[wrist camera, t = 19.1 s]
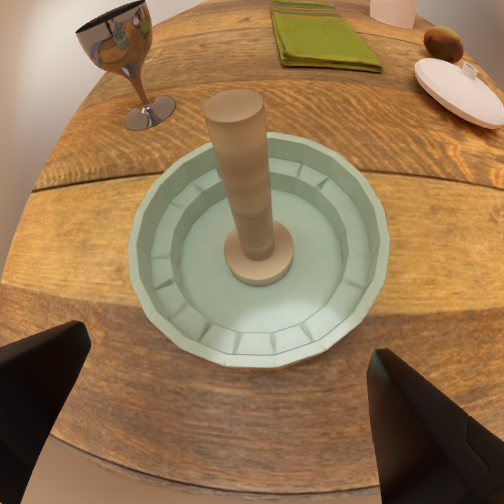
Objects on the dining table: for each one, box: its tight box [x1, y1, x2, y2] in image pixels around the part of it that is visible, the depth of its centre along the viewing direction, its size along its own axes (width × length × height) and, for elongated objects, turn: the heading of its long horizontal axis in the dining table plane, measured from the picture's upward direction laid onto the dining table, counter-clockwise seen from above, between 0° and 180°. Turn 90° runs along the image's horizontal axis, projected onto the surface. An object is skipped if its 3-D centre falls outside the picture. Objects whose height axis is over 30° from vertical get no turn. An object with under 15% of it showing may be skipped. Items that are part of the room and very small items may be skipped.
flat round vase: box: [415, 58, 504, 129], centre depth 26 cm, size 16×16×7 cm
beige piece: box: [203, 89, 294, 287], centre depth 15 cm, size 5×5×13 cm
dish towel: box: [270, 0, 384, 72], centre depth 39 cm, size 15×36×3 cm, turn 0°
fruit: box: [424, 26, 463, 64], centre depth 32 cm, size 8×8×8 cm
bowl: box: [128, 132, 391, 370], centre depth 19 cm, size 16×16×5 cm
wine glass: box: [76, 0, 176, 130], centre depth 25 cm, size 8×8×15 cm
